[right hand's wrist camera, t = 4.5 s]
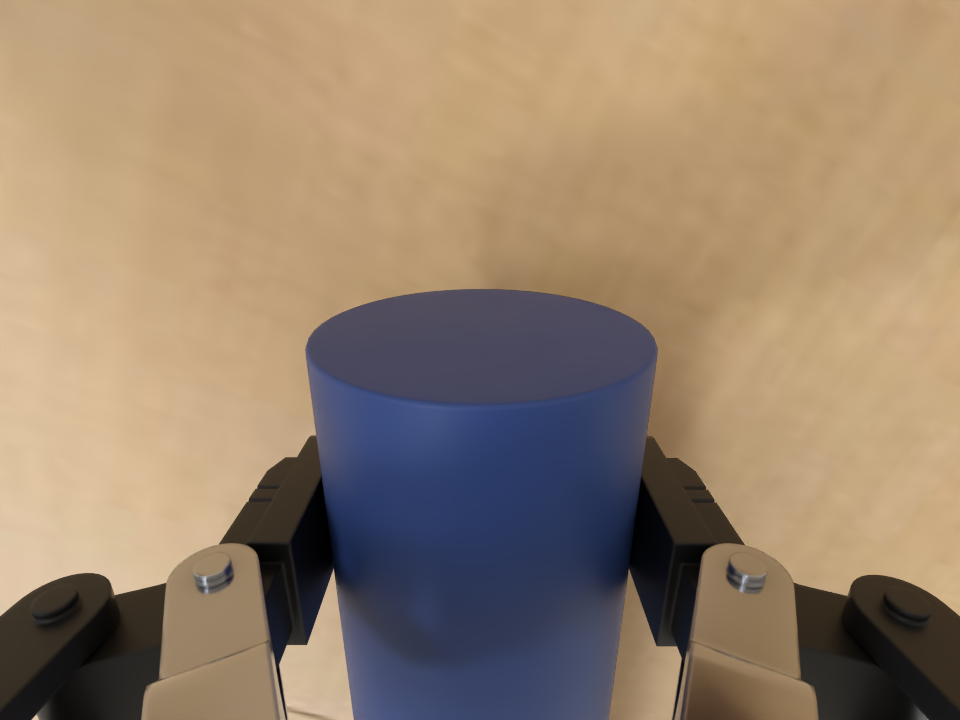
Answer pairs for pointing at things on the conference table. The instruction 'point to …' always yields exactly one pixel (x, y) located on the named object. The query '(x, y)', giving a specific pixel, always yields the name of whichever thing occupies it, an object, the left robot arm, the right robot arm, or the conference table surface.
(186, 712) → the right robot arm
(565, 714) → the rod
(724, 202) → the conference table surface
